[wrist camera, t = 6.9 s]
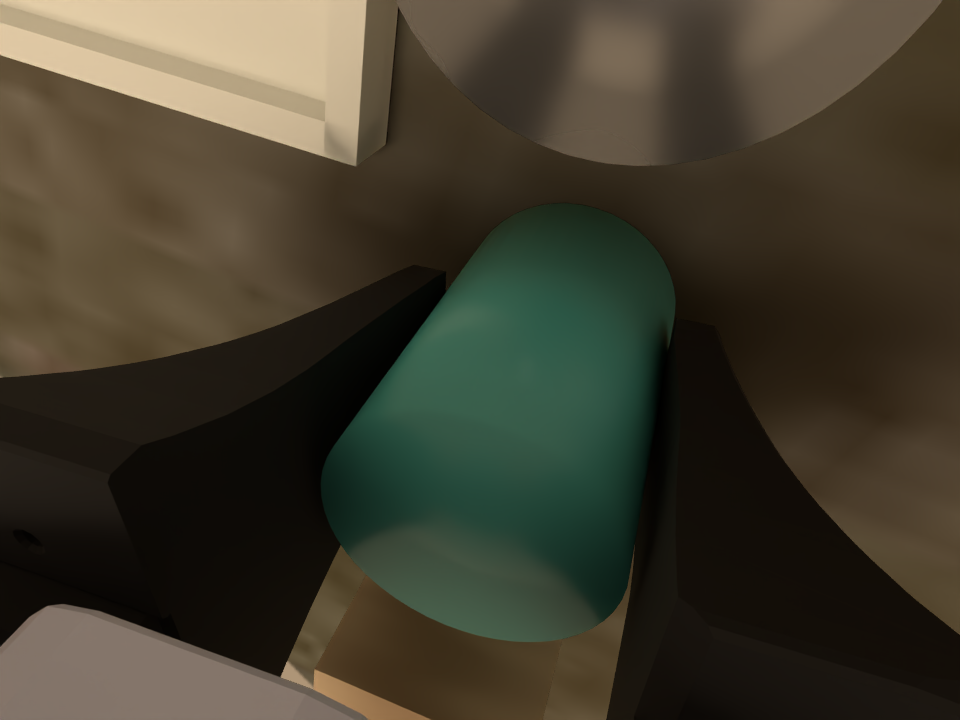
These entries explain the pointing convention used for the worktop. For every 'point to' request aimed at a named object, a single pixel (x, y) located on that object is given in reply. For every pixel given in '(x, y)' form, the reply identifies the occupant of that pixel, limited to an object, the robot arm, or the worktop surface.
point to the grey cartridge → (658, 67)
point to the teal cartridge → (514, 433)
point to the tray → (228, 61)
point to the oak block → (429, 666)
